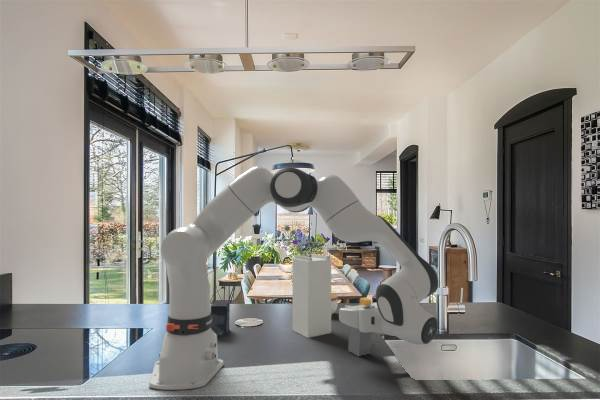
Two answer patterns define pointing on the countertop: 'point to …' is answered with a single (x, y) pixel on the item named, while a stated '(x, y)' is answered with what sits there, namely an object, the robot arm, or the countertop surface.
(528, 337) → the countertop surface
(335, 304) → the lidded jar
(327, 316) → the tall grey pillar
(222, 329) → the box
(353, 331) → the grey and orange bar
